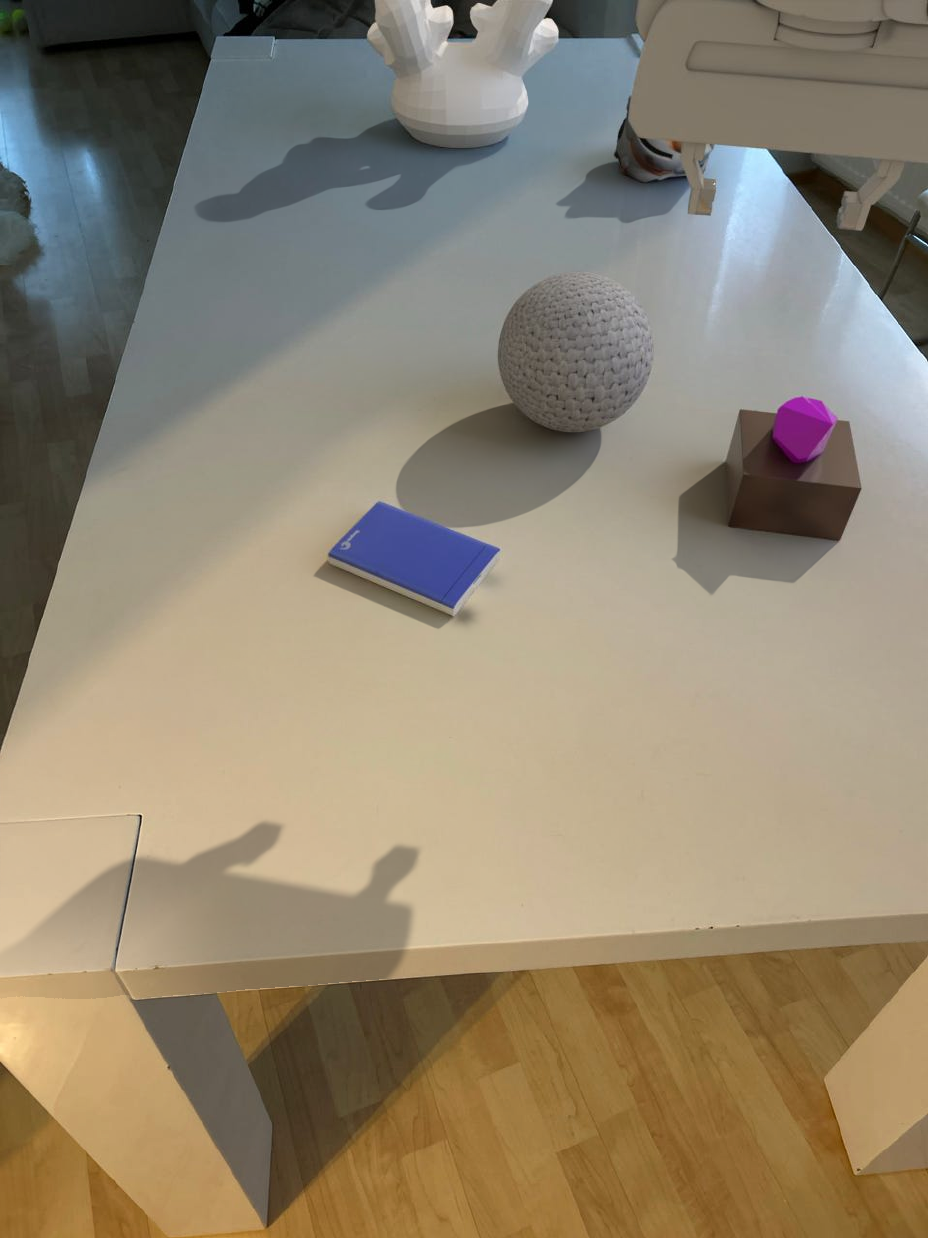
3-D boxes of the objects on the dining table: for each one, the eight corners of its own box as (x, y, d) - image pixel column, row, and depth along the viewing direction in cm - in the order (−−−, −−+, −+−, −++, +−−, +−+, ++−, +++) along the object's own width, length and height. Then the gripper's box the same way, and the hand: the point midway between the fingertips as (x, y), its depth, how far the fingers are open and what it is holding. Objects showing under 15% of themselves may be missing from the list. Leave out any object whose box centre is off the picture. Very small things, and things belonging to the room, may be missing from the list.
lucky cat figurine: (721, 166, 142) (748, 94, 129) (675, 221, 140) (698, 153, 127) (640, 114, 145) (658, 38, 131) (593, 167, 142) (607, 95, 129)
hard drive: (327, 551, 81) (453, 605, 77) (379, 498, 85) (500, 546, 82) (328, 565, 82) (453, 618, 78) (380, 511, 87) (499, 559, 83)
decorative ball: (537, 478, 90) (551, 337, 79) (470, 397, 100) (473, 260, 89) (669, 440, 95) (699, 301, 84) (593, 366, 104) (610, 232, 93)
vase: (371, 159, 142) (357, -136, 116) (370, 106, 157) (357, -166, 132) (561, 157, 144) (588, -134, 118) (542, 105, 159) (562, -163, 134)
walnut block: (830, 472, 92) (849, 421, 88) (840, 540, 85) (862, 488, 81) (725, 460, 93) (739, 408, 89) (727, 526, 86) (743, 474, 82)
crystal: (830, 440, 85) (846, 396, 82) (816, 473, 82) (832, 429, 79) (773, 424, 87) (787, 380, 84) (758, 455, 84) (771, 411, 80)
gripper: (641, -37, 50) (607, 223, 60) (1050, -9, 47) (943, 256, 58) (647, -64, 54) (614, 183, 64) (1023, -40, 52) (928, 212, 62)
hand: (773, 218), depth 61 cm, fingers open, 8 cm apart
